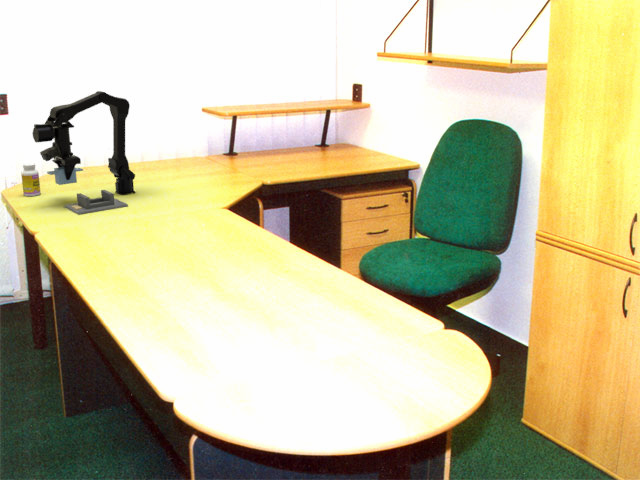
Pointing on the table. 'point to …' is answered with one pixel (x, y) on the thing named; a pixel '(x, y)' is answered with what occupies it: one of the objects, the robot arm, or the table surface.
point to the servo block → (61, 177)
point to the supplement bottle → (30, 180)
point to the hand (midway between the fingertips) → (65, 178)
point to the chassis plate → (95, 203)
